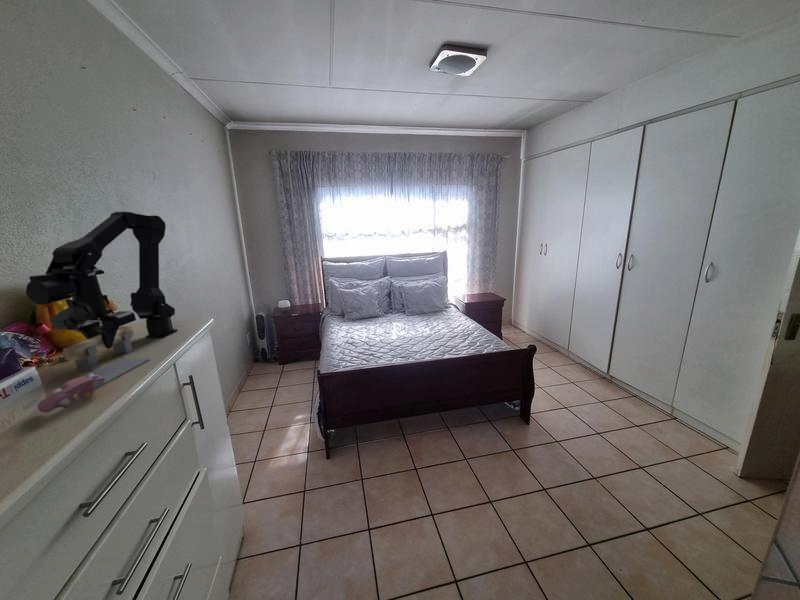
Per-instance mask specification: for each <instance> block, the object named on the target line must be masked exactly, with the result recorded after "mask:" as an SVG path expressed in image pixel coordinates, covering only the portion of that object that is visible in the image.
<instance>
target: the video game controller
mask: <svg viewBox="0 0 800 600" xmlns="http://www.w3.org/2000/svg"><path fill="white" fill-rule="evenodd" d="M90 373H91V372H90ZM83 376H84V375H83ZM104 382H105V379H104V378H103V377H101V376H100V375H96V374H93V373H91V374H89V375H88V376H84V377H82V376H79V377H76V378H72V379H71V380H69V381H67V382H66V383H64V384H63V385H62V386H59V387H60V388H59V387H58V388H55V389H53V390H52V391H51V392H49V394H47V395H46V396H45V398H43V399H42V400H41V401H40V402H38V403H37V410H38V411H39V412H41V413H45V414H46V413H50V412H53V411H54V410H55V409H57V408H63V409H68V408H70V407H72V406H74V404H75V403H76V401H77V398H75V397H74V396H76V395H77V397H78V398H79V399H81V400H85V399H87V398H89V397H92V395H93V394H94V392H95V391H96V390H98V389H100V388H101V387H100V386H101V385H102V384H103V383H104ZM99 387H100V388H99Z"/></svg>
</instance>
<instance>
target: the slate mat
mask: <svg viewBox="0 0 800 600" xmlns="http://www.w3.org/2000/svg"><path fill="white" fill-rule="evenodd" d="M149 361H150V362H151V359H150V358H132V357H131V358H130V357H129V358H128V357H127V358H124V357H121V358H118V359H115V360H113V361H112V362H109V363H108V364H107V363H106V365H103V366H102V367H98V368H96V369H94V370H92V371H91V372H89V373H87V374H85V375H82V376H81V377H84V376H88V375H89V374H91V373H93V374H96V375H100V376H101V377H103V378H104V379H105V382H104V383H103V384H102V385H101V386H100V387H99V388H98V389H100V388H102V387H103V386H106V385H107V384H110V383H111V382H113V381H115V380H117V379H119V378H120V377H122V376H124V375H125V374H127V373H129V372H131V371H133V370H135V369H136V368H139V367H140V366H143V365H144V364H146V363H148V362H149ZM60 387H61V386H59V387H58V388H60Z"/></svg>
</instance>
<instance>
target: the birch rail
mask: <svg viewBox="0 0 800 600" xmlns="http://www.w3.org/2000/svg"><path fill="white" fill-rule="evenodd" d="M126 332H131V336H132V337H134V336H135V334H134V330H133V326H132V325H131V326H129V325H128V326H127V325H126V326H124V325H122V326H120V327H119V328H118V330H117V333H116V336H115V339H114V342H113V344H116V343H118V342H121V341H123V340H122V337H121V334H123V333H126ZM91 346H96V348H97V351H98V352H99V351H102V350H103V349H107V348H106V346H105V344H104V342H103V340H102V337H101V335H98V336H96V337H93V338H90V339H88V340H87V339H85V340H82V341H79V342H78V343H74V344H72V345H69V346H67V347H64V348H62V351H63V355H64V357H65V360H66V361H70V360H71V361H72V360H73V361H75V360H78V359H81V358H83V357H85V356H86V353H85V350H84V349H86V348H89V347H91Z"/></svg>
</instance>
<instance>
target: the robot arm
mask: <svg viewBox="0 0 800 600" xmlns="http://www.w3.org/2000/svg"><path fill="white" fill-rule="evenodd" d="M166 226H167V225H166V221H164V220H163V218H162V217H160V216H159V215H146V214H139V213H134V212H131V211H127V210H126V211H114V212H112V213H111V214H110V216H109V217H107V218H106V219H105V220H103V221H102V222H100V223H99V224H98V225H97V226H96V227H94V228H93V229H92V230H91V231H90V232H88V233H87V234H85V235H83V236H82V237H81V238H79V239H75V240H71V241H69V242H67V243H64V244H62V245H60V246H58V247H56V248H55V249H54V250H53V251H52V255H53V256H52V259H51V261H50V264H49V266H48V267H47V269H46V272H45V274H41V275H39V274H37V275H30V276H29V277H28V278H29V280H30V281H29V282H28V283H27V284H26V289H25V293H26V296H27V298H28V299H29V300H30V301H31V302H33V303H34V304H36V305H38V306H43V305H46V304H53V303H57V302H59V301H65V300H67V301H68V302H67V305H68V306H67V308H65V309H63V310H61V311H59V312H58V313H57V314H55V315H53V316H52V317H51V318H49V322H50V323H51V324H52V326H53V328H55V329H57V331H62V330H67V331H73V332H78V333H80V334H81V335H82V336H84V338H85V339H86V340H88V339H90V338H93V337H96V336H98V335H101V337H102V340H103V342H104V344H105V346H106V348H105V349H108V350H110V349H113V347H112V345H113V342H114V339H115V336H116V333H117V330H118V328H119V327H122V326H124V325H127V324H129V323H132V322H136V321H137V319H136V315H137V316H138V318H139V319H140V320H145V323H146V324H145V326H146V330H147V331H146V332H147V333H148V334H147V335H145V338H166V337H167V336H169V335H171V334H173V333H175V332H177V331H178V329H177V328H174V326H173V323H172V322H173V321H172V319H171V318H172V317H173V316H175V314H176V312H175V311H176V309H175V307H173V306H172V305H170V304H168V303H167V302H166V295H165V294H164V293H163V292H162V290H161V287H160V253H159V251H160V249H159V247H160V243H161V242H162V240H163V239H164V237H165V234H166ZM127 229H128V230H131V231H132V234H133V236H134V237H135V239H136V240H137V242H138V243H139V244H138V247H139V248H138V252H139V253H138V258H139V263H138V264H139V267H138V268H139V270H138V271H139V275H138V276H139V277H138V278H139V284H138V285H139V286H138V289H137V290H136V292H131V293H130V304H129V305H130V307H131V309H132V311H133V312H132V311H130V310H129V311H128V310H127V311H126V310H124V311H123V310H122V311H121V310H119V311H116V312H113V311H112V309H111V308H107V306H106V302H105V300H106V299H107V300H108V297H109V296H108V295H107V294H103V293H102V288H101V287H100V282H99V280H98V275H103V274H105V270H102V269H100V268H98V267H96V265H97V263H98V262H99V261H100V260H101V258H102V257H103V251H104V249H105V248H106V247H107V246H108V245H109V244H111V243H112V242H113V241H114V240H115V239H116V238H118V237H120V236H121V234H122V233H124V232H125V231H127ZM68 299H69V300H68Z"/></svg>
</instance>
